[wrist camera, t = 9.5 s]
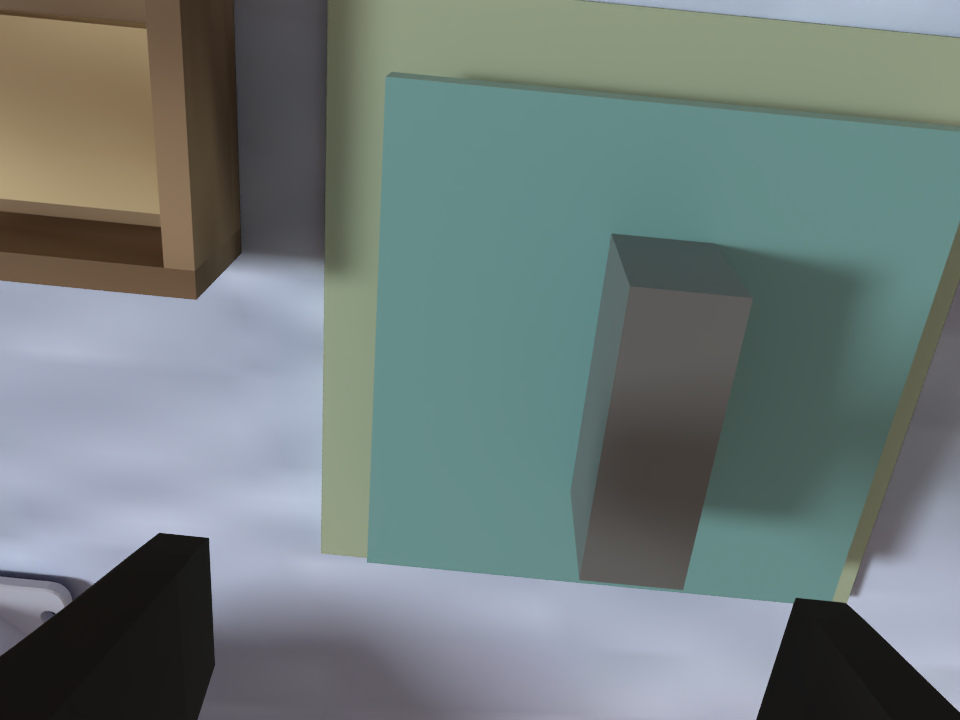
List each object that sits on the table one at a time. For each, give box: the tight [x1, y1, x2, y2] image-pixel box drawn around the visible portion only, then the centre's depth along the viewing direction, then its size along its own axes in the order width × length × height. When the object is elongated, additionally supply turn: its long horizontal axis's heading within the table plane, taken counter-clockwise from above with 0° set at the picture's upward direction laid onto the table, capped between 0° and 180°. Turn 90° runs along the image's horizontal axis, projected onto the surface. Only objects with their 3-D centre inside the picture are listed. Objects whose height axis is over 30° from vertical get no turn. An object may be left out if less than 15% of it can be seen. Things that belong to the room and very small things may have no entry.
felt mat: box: [321, 0, 960, 604], centre depth 20 cm, size 14×14×1 cm
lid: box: [367, 72, 960, 603], centre depth 17 cm, size 11×11×5 cm
